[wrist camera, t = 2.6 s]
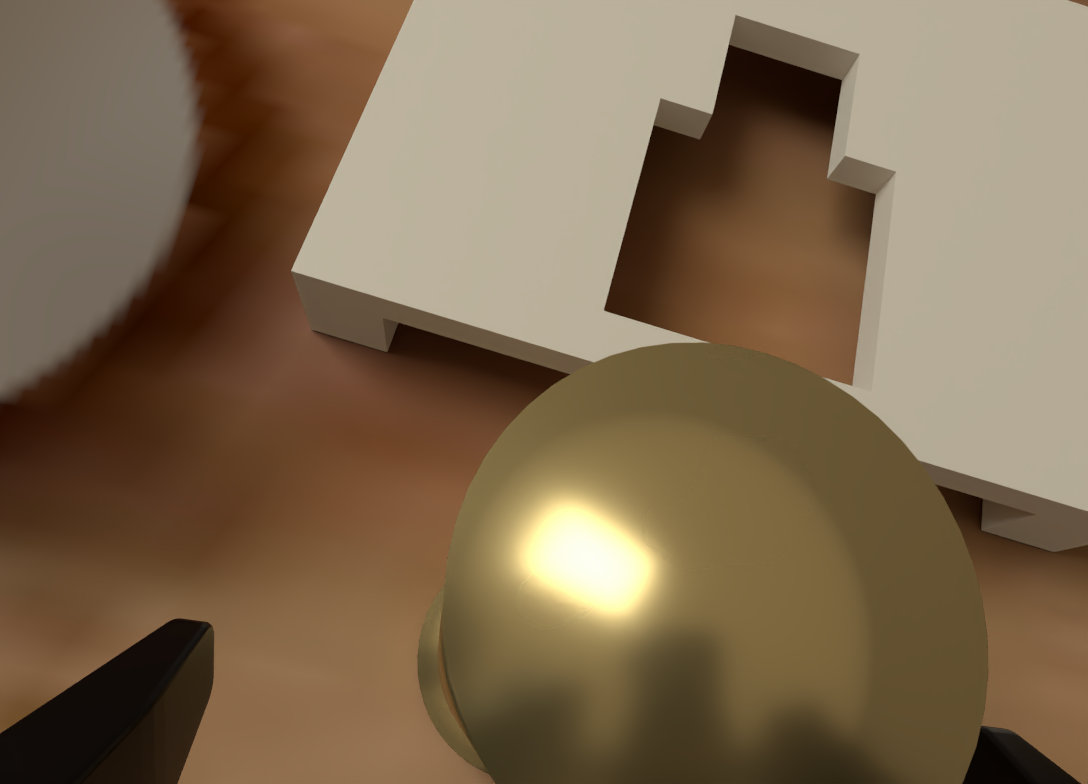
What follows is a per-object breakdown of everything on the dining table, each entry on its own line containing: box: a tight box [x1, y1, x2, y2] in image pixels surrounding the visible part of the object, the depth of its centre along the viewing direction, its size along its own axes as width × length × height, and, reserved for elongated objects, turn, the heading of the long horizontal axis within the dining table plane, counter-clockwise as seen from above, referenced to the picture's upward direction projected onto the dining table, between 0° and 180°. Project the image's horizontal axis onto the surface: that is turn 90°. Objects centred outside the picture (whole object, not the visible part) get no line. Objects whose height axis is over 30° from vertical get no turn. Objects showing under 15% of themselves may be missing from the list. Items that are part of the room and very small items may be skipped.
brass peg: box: [418, 342, 988, 784], centre depth 12 cm, size 5×5×13 cm
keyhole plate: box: [291, 0, 1088, 552], centre depth 22 cm, size 16×20×3 cm
